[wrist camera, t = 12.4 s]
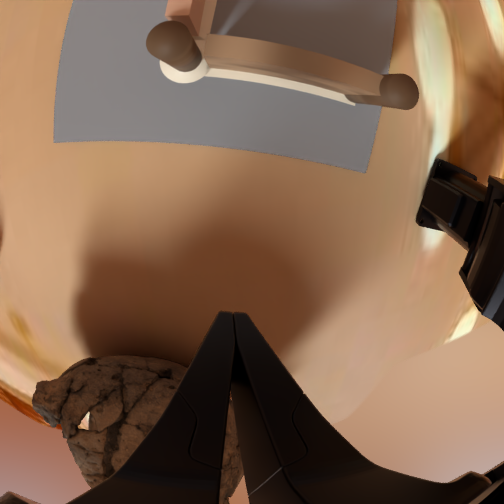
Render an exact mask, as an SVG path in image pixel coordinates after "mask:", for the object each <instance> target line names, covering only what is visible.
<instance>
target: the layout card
mask: <svg viewBox="0 0 504 504" xmlns="http://www.w3.org/2000/svg"><path fill="white" fill-rule="evenodd" d="M167 3H168V0H73V3H72V7H71V10H70V14H69V18H68V22H67V26H66V30H65V35H64V39H63V44H62V50H61V55H60V62H59V68H58V76H57V85H56V95H55V110H54V143H60V142H81V141H141V142H164V143H180V144H193V145H204V146H214V147H223V148H232V149H240V150H247V151H254V152H261V153H268V154H274V155H280V156H286V157H292V158H297V159H303V160H308V161H313V162H318V163H323V164H327V165H332V166H336V167H341V168H345V169H349V170H354V171H358V172H362V173H366V170H367V166H368V163H369V159H370V155H371V151H372V147H373V143H374V139H375V135H376V131H377V126H378V122H379V117H380V113H381V108H382V106H376V105H368V104H358V103H353V102H350V101H349V100H348V99H347V98H346V97H345V95H344V94H341V93H338V92H334V91H331V90H327V89H324V88H320V87H316V86H312V85H308V84H304V83H300V82H296V81H291V80H287V79H282V78H277V77H272V76H266V75H260V74H254V73H247V72H240V71H233V70H224V69H214V68H209V66H208V64H207V62H206V61H205V59H204V57H203V52H204V47H205V42H206V37H207V34H216V35H226V36H235V37H243V38H250V39H256V40H262V41H268V42H273V43H278V44H283V45H288V46H292V47H297V48H301V49H305V50H309V51H312V52H316V53H320V54H323V55H326V56H330V57H333V58H336V59H339V60H342V61H345V62H348V63H351V64H354V65H357V66H359V67H362V68H365V69H367V70H370V71H373V72H375V73H377V74H380V75H382V74H388V71H389V65H390V59H391V52H392V45H393V38H394V30H395V21H396V11H397V0H205V5H204V9H203V15H202V20H201V25H200V31H199V36H192V37H193V39H194V40H195V42H196V44H197V46H198V48H199V50H200V51H201V54H202V60H201V63H200V65H199V66H198V67H197V68H196V69H194V70H192V71H189V72H181V71H178V70H176V69H175V68H173V67H171V66H170V65H168V64H166V63H165V62H163V61H161V60H159V59H158V58H156V57H154V56H153V55H151V54H150V53H149V52H148V50H147V47H146V39H147V36H148V34H149V32H150V31H151V30H152V29H153V28H154V27H155V26H156V25H158V24H159V23H162V22H164V21H168V19H167V18H166V17H165V12H166V7H167Z"/></svg>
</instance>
